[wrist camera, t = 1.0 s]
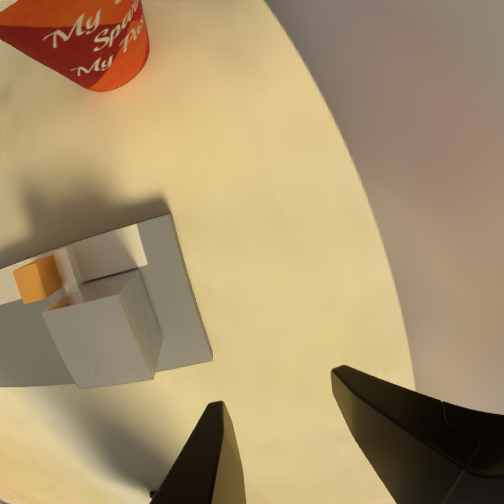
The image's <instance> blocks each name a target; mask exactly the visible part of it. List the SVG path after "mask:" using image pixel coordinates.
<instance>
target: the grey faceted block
mask: <svg viewBox="0 0 504 504" xmlns="http://www.w3.org/2000/svg"><path fill="white" fill-rule="evenodd" d="M53 255H54V258H55V262H56V265H57V268H58V271H59V274H60V277H61V280H62V283H63V286H64V289H65V291H66V293H65V294H64V295H62V296H61V297H60V298H59V299H58V300H56V301H55V302H54V303H53V304H51V305H50V306H49V307H48V308H47V309H45V310H44V311H43V312H42V315H43V318H44V320H45V322H46V325H47V327H48V329H49V331H50V334H51V336H52V338H53V340H54V342H55V344H56V346H57V349H58V351H59V353H60V355H61V357H62V359H63V360H64V362H65V364H66V366H67V368H68V370H69V372H70V374H71V375H72V377H73V379H74V381H75V383H76V384H77V386H78V388H79V389H85V388H95V387H104V386H112V385H120V384H127V383H134V382H141V381H147V380H153V379H154V375H155V371H156V367H157V363H158V358H159V354H160V350H161V346H162V343H163V336H162V334H161V331H160V329H159V326H158V323H157V321H156V318H155V315H154V312H153V310H152V307H151V304H150V301H149V298H148V295H147V292H146V289H145V286H144V283H143V280H142V277H141V274H140V271H139V269H137V270H133V271H129V272H125V273H121V274H118V275H114V276H110V277H106V278H103V279H99V280H95V281H91V282H88V283H83V280H82V277H81V274H80V271H79V268H78V265H77V261H76V258H75V255H74V252H73V248H72V245H70V246H67V247H64V248H61V249H58V250H56V251H54V252H53Z"/></svg>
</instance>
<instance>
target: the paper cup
mask: <svg viewBox="0 0 504 504" xmlns="http://www.w3.org/2000/svg"><path fill="white" fill-rule="evenodd" d="M0 39H1V40H3V41H5V42H6V43H8V44H10V45H11V46H13V47H15V48H16V49H18V50H20V51H21V52H23V53H24V54H26V55H28V56H29V57H31V58H33V59H34V60H36V61H38V62H40V63H42V64H44V65H45V66H47V67H49V68H51V69H53V70H55V71H56V72H58V73H60V74H62V75H63V76H65V77H67V78H68V79H70V80H72V81H74V82H75V83H77V84H79V85H81V86H82V87H84V88H86V89H89V90H92V91H97V92H105V91H110V90H114V89H116V88H119V87H121V86H123V85H125V84H126V83H128V82H129V81H131V80H132V79H133V78H134V77H135V76H136V75H137V74H138V73H139V72H140V71H141V69H142V68H143V67H144V65H145V63H146V61H147V58H148V55H149V38H148V33H147V28H146V23H145V18H144V14H143V9H142V4H141V0H0Z"/></svg>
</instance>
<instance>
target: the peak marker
mask: <svg viewBox="0 0 504 504" xmlns="http://www.w3.org/2000/svg"><path fill="white" fill-rule="evenodd" d="M13 274H14V277H15V280H16V283H17V286H18V289H19V292H20V295H21V297H22V300H23V303H24V304H27V303H31V302H35V301H38V300H42V299H46V298H48V297H50V296H51V295H52V294H54V293H55V292H56V291H58V290H59V289H60V288H62V287H63V283H62V280H61V277H60V274H59V271H58V268H57V265H56V262H55V258H54V255H53V254H51V255H48V256H45V257H42V258H39V259H37V260H35V261H33V262H30V263H28V264H26V265H24V266H22V267H20V268H18V269H16V270H14V271H13Z"/></svg>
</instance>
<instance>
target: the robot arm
mask: <svg viewBox="0 0 504 504" xmlns="http://www.w3.org/2000/svg"><path fill="white" fill-rule="evenodd" d="M331 381H332V391H333V395H334V397H335V399H336V402H337V404H338V406H339V408H340V410H341V412H342V414H343V417H344V419H345V421H346V423H347V425H348V427H349V430H350V432H351V434H352V436H353V437H354V439H355V441H356V442H357V444H358V445H359V447H360V448H361V450H362V451H363V453H364V455H365V456H366V458H367V459H368V461H369V462H370V464H371V465H372V467H373V468H374V470H375V471H376V473H377V474H378V476H379V477H380V479H381V480H382V482H383V484H384V485H385V487H386V488H387V490H388V491H389V493H390V494H391V496H392V497H393V499H394V500H395V502H396V503H397V504H504V415H499V414H493V413H486V412H482V411H477V410H472V409H468V408H464V407H461V406H457V405H454V404H450V403H447V402H444V401H443V402H441V400H438V399H435V398H432V397H429V396H426V395H423V394H420V393H417V392H415V391H412V390H409V389H406V388H403V387H401V386H398V385H395V384H393V383H390V382H387V381H385V380H382V379H379V378H377V377H374V376H372V375H369V374H367V373H364V372H361V371H359V370H356V369H354V368H352V367H349V366H347V365H341V366H339V367H336V368H333V369H332V370H331ZM150 497H151V498H152V500H151V502H150V503H149V504H246V497H245V486H244V476H243V468H242V463H241V459H240V454H239V450H238V446H237V441H236V437H235V432H234V428H233V424H232V421H231V418H230V416H229V413H228V411H227V408H226V406H225V403H224V402H223V401H217V402H212V403H209V404H208V405H207V407H206V409H205V411H204V412H203V414H202V416H201V418H200V419H199V421H198V423H197V425H196V426H195V428H194V430H193V432H192V433H191V435H190V437H189V439H188V440H187V442H186V444H185V446H184V447H183V449H182V451H181V452H180V454H179V456H178V458H177V459H176V461H175V463H174V464H173V466H172V468H171V469H170V471H169V473H168V474H167V476H166V478H165V479H164V481H163V483H162V484H161V486H160V488H159V491H157V492H151V493H150Z"/></svg>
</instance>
